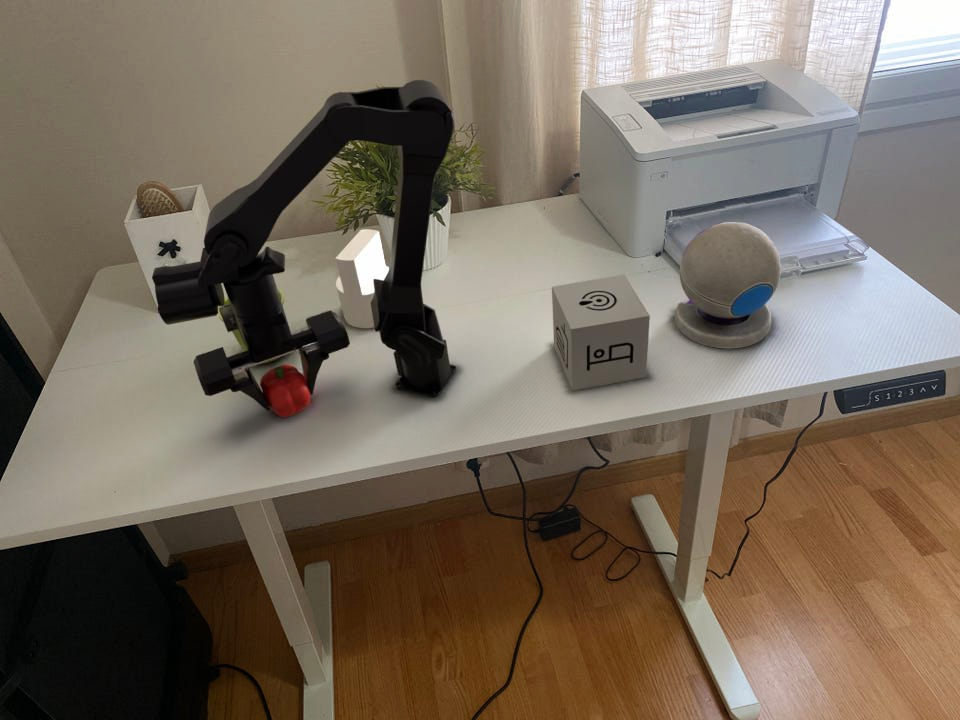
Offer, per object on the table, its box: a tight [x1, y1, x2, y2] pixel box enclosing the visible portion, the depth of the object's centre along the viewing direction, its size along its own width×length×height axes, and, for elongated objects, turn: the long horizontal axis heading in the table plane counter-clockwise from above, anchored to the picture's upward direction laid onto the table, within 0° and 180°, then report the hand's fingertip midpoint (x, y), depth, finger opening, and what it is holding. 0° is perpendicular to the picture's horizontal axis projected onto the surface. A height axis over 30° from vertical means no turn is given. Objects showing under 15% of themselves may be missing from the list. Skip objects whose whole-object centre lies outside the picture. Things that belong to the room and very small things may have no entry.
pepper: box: [259, 363, 311, 418], centre depth 97 cm, size 6×6×7 cm
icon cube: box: [551, 274, 651, 391], centre depth 98 cm, size 10×10×10 cm
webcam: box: [674, 221, 782, 349], centre depth 100 cm, size 13×13×15 cm
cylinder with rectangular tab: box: [334, 229, 390, 329], centre depth 112 cm, size 9×9×12 cm
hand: (289, 400), depth 99 cm, fingers closed on pepper, 5 cm apart
